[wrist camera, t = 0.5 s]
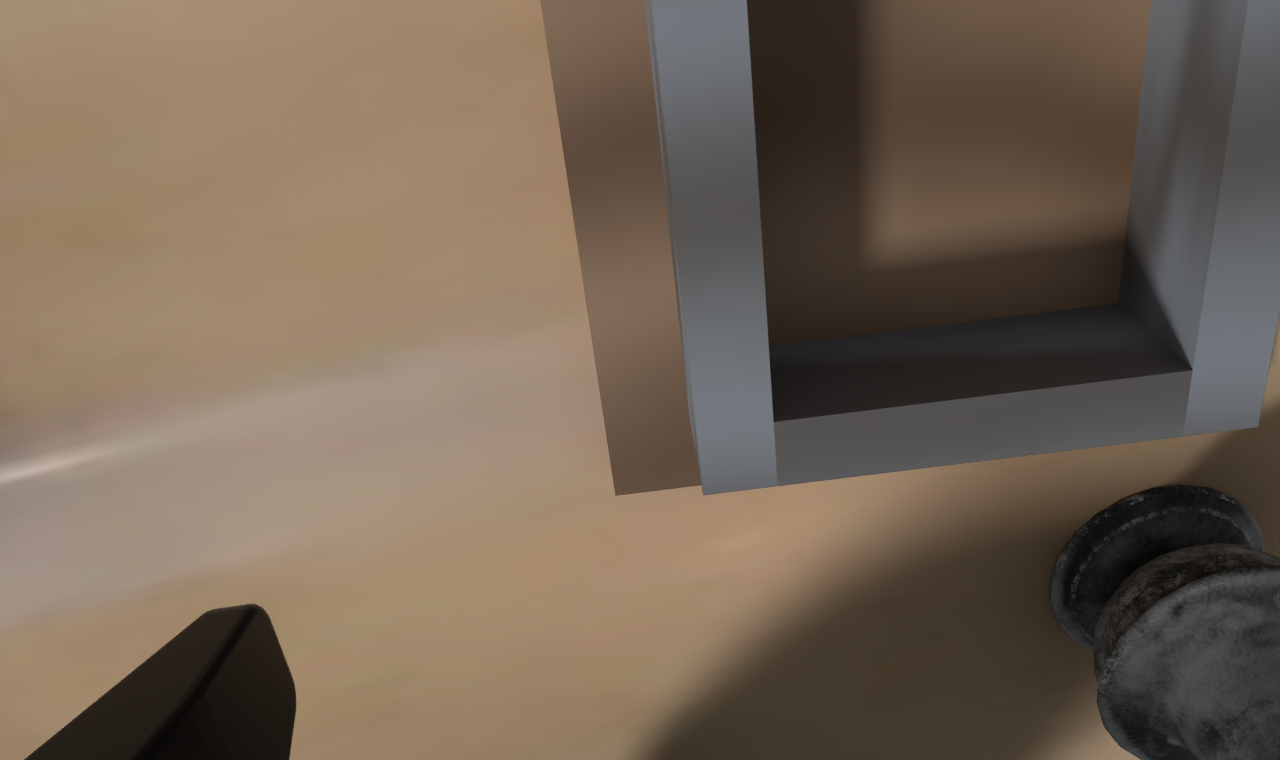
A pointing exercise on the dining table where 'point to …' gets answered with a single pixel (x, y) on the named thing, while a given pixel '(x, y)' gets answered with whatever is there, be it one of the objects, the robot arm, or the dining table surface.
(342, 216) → the dining table surface
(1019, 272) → the socket board
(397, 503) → the dining table surface
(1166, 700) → the salt shaker
